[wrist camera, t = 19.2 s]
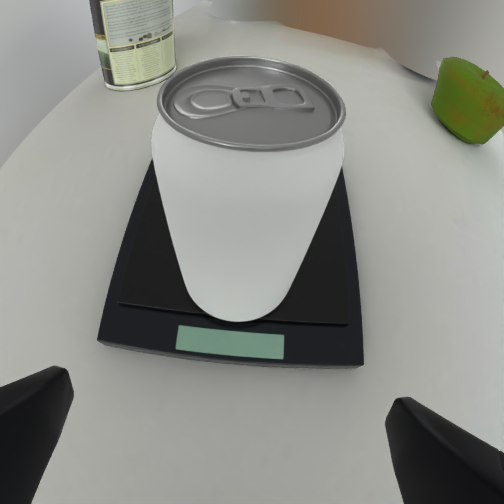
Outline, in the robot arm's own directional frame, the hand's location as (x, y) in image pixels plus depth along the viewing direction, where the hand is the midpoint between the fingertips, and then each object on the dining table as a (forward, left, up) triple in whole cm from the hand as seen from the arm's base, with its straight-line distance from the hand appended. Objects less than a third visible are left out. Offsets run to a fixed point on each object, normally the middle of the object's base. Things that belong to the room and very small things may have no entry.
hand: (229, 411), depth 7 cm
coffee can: (+33, +24, -10) cm, 42 cm away
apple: (+41, -21, -10) cm, 47 cm away
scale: (+12, +3, -10) cm, 16 cm away
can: (+8, +2, -9) cm, 12 cm away
